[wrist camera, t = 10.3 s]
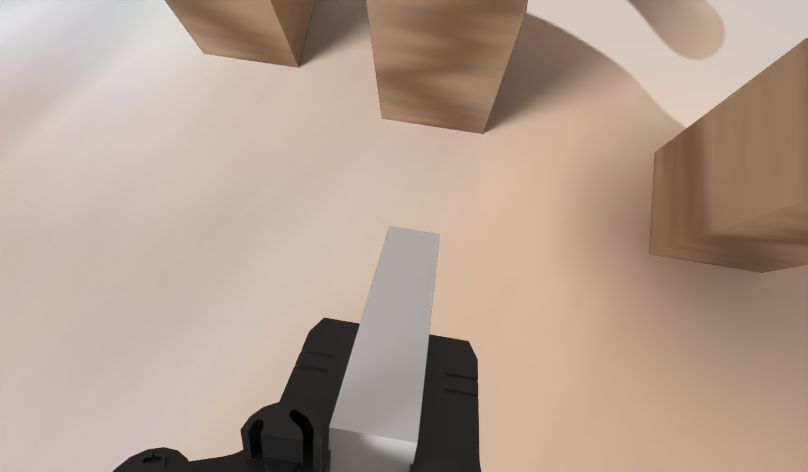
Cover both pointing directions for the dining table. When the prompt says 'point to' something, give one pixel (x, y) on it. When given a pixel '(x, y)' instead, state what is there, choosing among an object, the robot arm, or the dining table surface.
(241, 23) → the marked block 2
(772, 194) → the marked block 1
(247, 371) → the dining table surface
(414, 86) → the unmarked block
